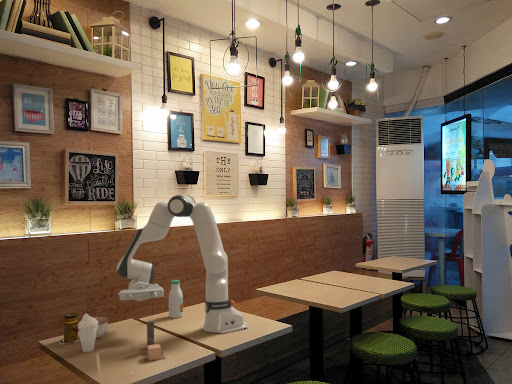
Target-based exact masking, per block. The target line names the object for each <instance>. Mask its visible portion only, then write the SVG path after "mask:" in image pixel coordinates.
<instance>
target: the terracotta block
mask: <svg viewBox="0 0 512 384" xmlns="http://www.w3.org/2000/svg"><path fill="white" fill-rule="evenodd" d="M161 351H162V347H161V345H160V344H159V343H154V345H148V359H149V361H150V362H152V361H151V360H156V361H158V360H157V359H161Z"/></svg>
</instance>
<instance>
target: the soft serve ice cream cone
mask: <svg viewBox="0 0 512 384" xmlns="http://www.w3.org/2000/svg"><path fill="white" fill-rule="evenodd" d="M97 326H98V321H97V319H95V317H93V316H90V315H89V314H88V313H84V315H83V316H82V319H81V320H80V321H78V333H79V340H80V341H79V342H80V344H81V345H80V346H81V349H82V353H91V352H93V351H94V348H95V343H96V339H97V338H96V330H97Z"/></svg>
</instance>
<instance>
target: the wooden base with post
mask: <svg viewBox="0 0 512 384" xmlns="http://www.w3.org/2000/svg"><path fill="white" fill-rule="evenodd" d="M148 345H155V322H154V320H148V321H146V346H147V347H141V348H139V351H140V354H141V356H142V358H143V360H144V363H149V362H154V361H161V360H167V359H166V356H165V355H164V353H163V351H162V350H161V359H157V360H151V361H149V359H148Z"/></svg>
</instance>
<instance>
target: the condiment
mask: <svg viewBox="0 0 512 384" xmlns="http://www.w3.org/2000/svg"><path fill="white" fill-rule="evenodd" d="M78 324H79V320H78V314H77V313H67V314H65V315H64V321H63V339H57V342H58V343H59V345H60V346H62V345H65V344H71V342H73V343H76V342H75V341H77V340H78V339H79V329H78ZM63 340H64V342H63ZM79 342H81V341H80V339H79V340H78V342H77V343H79ZM73 343H72V344H73Z"/></svg>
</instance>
